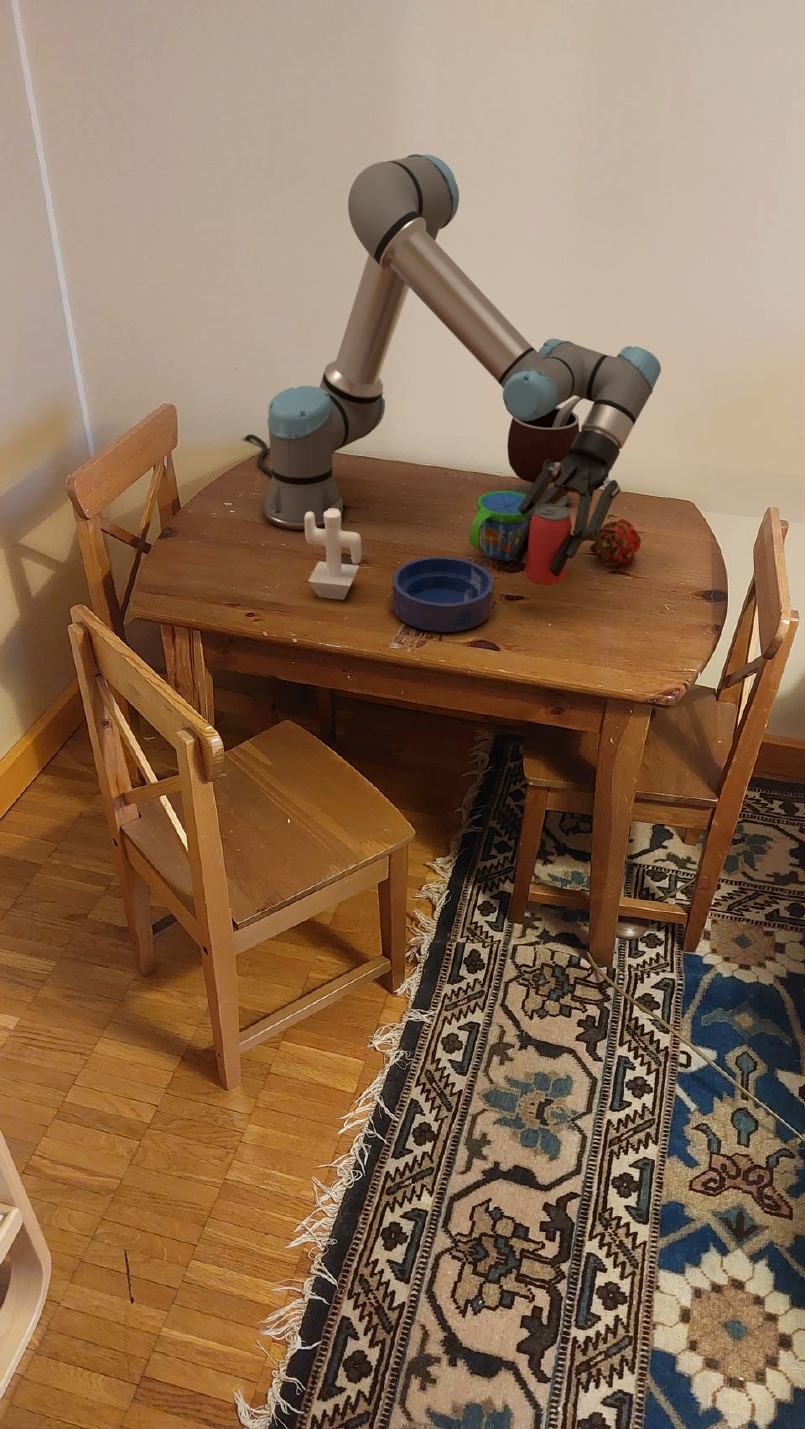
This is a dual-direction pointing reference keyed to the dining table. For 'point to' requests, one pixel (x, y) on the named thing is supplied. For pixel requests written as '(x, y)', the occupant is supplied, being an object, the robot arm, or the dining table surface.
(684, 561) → the dining table surface
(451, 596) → the bowl
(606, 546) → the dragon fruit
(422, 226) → the robot arm
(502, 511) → the snack cup
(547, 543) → the beer can
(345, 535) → the figurine
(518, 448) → the mate gourd
